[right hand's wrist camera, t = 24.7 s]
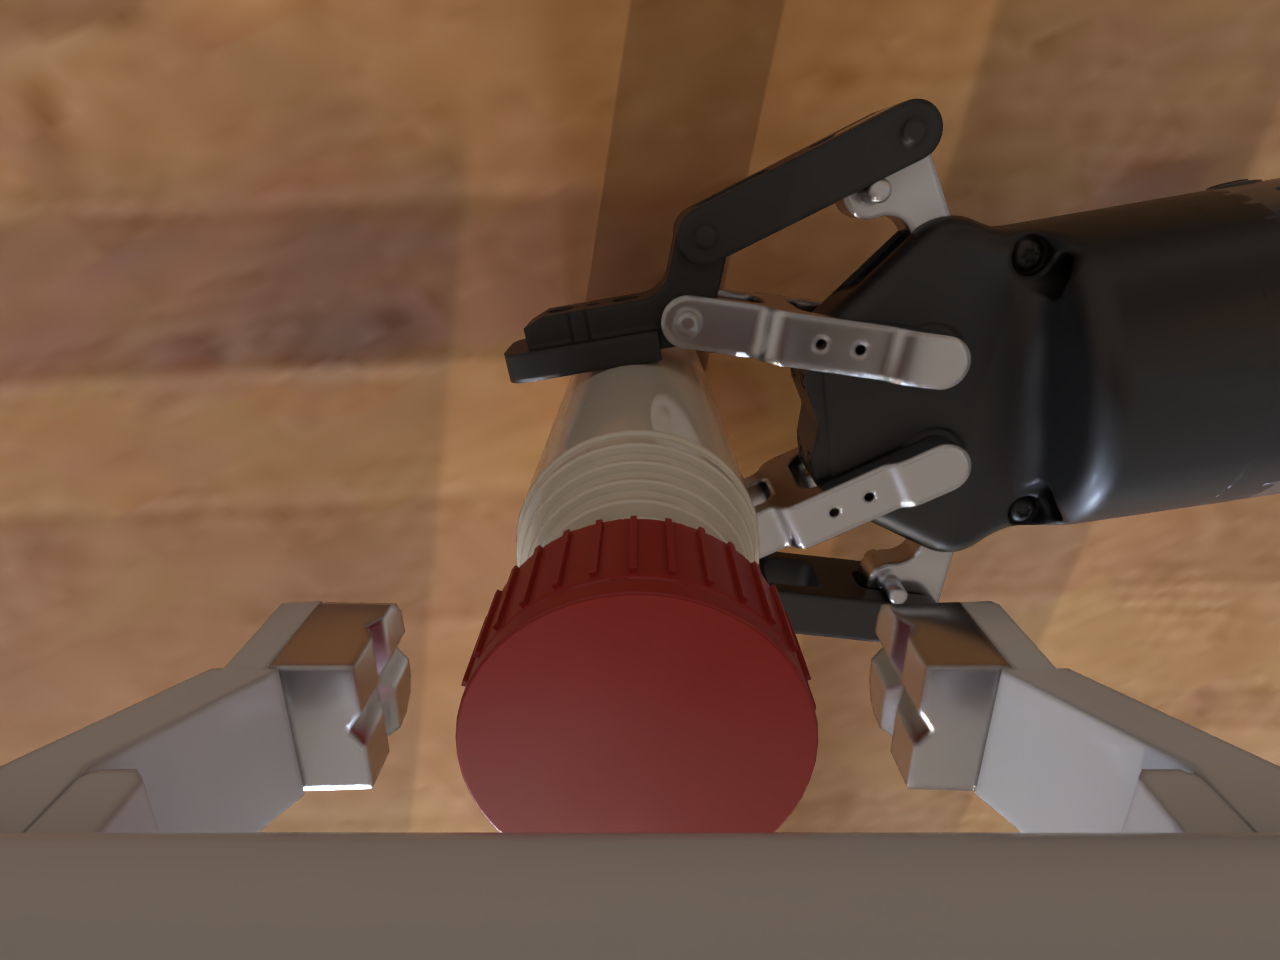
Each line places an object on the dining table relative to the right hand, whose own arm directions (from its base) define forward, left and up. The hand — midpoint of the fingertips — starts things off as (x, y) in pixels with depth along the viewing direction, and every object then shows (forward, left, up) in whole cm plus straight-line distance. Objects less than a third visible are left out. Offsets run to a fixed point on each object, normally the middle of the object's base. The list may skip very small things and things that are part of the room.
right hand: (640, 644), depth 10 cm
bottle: (0, 0, -16) cm, 16 cm away
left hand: (-2, +2, -9) cm, 10 cm away
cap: (0, 0, +2) cm, 2 cm away
